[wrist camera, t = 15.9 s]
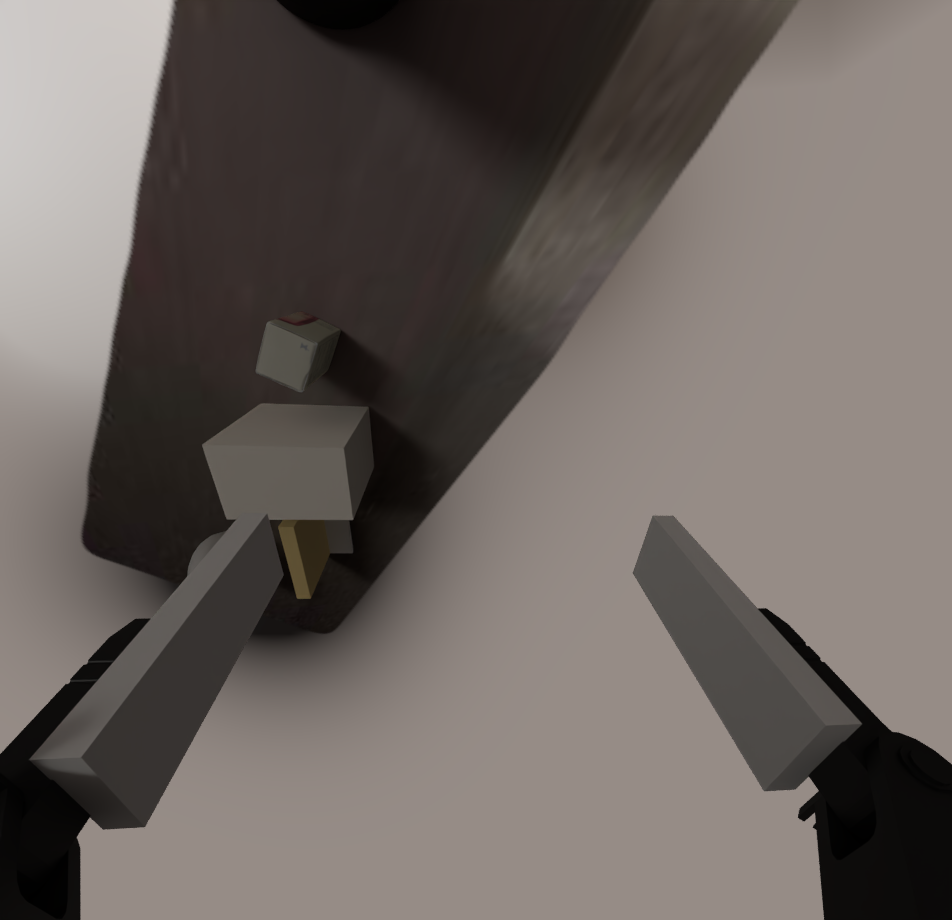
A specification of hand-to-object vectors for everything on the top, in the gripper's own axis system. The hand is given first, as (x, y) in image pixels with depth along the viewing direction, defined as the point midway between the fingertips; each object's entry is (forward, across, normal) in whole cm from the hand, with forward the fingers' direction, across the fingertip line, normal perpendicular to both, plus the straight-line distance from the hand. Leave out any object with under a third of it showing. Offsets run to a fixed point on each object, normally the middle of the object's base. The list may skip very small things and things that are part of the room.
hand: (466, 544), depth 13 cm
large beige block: (+31, -16, -10) cm, 36 cm away
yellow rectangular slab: (+30, -18, -22) cm, 42 cm away
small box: (+31, -15, +1) cm, 34 cm away
